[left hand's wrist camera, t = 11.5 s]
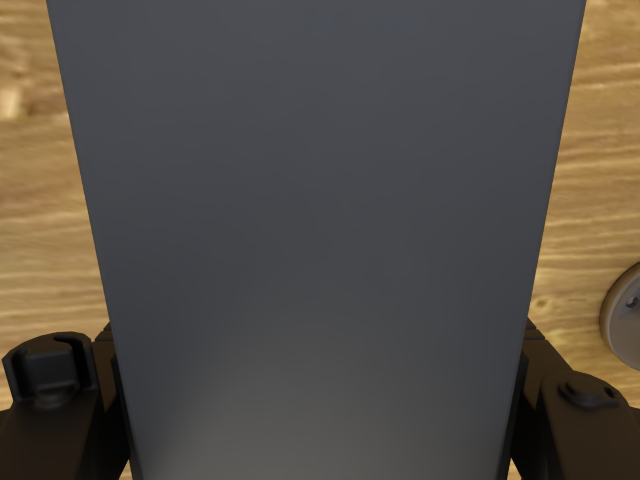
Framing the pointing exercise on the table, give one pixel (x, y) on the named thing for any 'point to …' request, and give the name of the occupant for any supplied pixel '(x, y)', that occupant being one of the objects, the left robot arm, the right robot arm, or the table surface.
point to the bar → (317, 223)
